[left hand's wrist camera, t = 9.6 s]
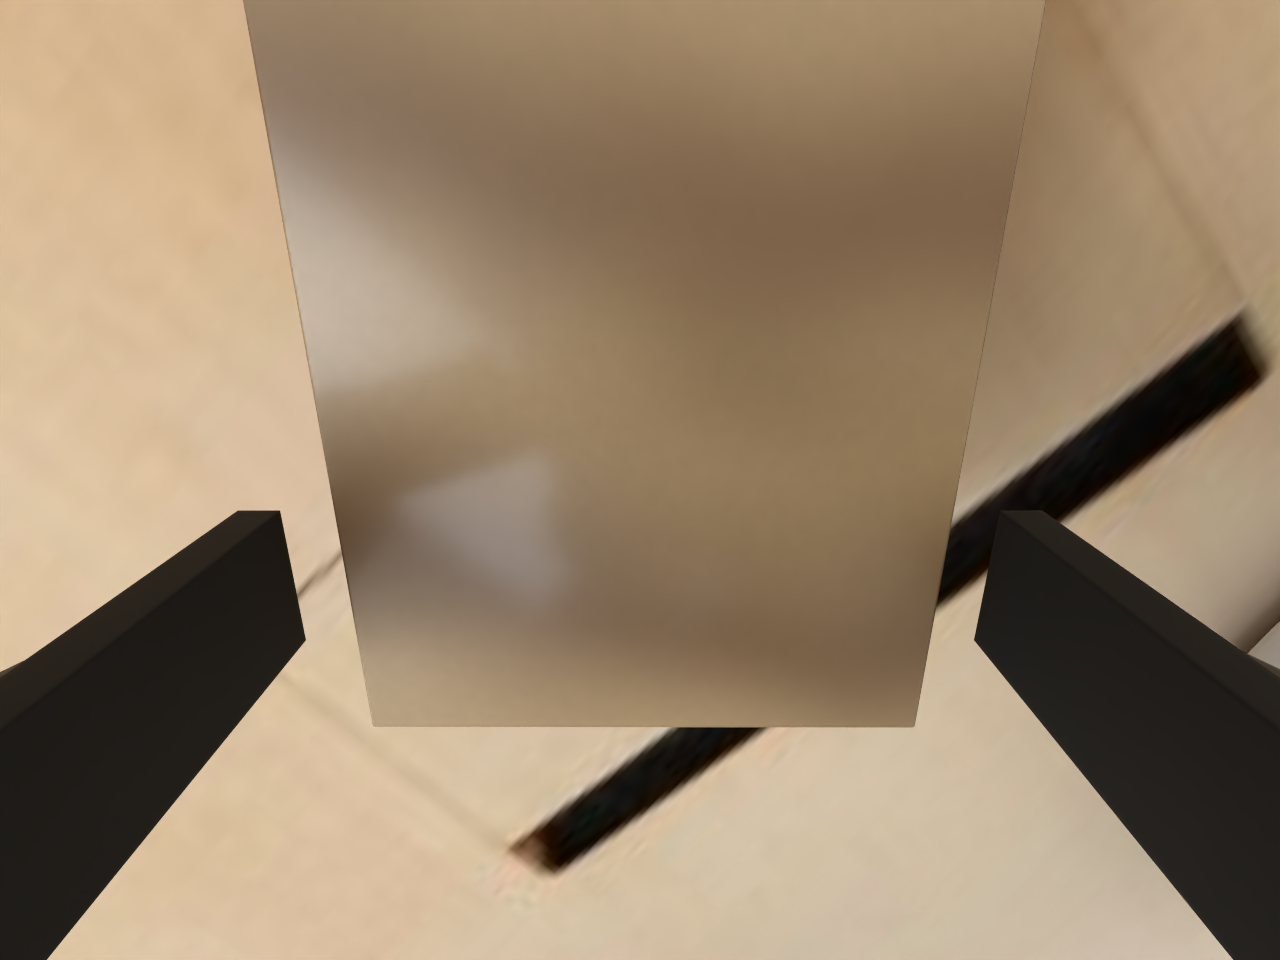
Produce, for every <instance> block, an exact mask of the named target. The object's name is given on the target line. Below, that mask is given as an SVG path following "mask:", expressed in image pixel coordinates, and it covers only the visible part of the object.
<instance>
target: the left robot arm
mask: <svg viewBox="0 0 1280 960" xmlns="http://www.w3.org/2000/svg"><path fill="white" fill-rule="evenodd" d="M305 641H306V638H305V633H304V628H303V623H302V618H301V613H300V608H299V603H298V598H297V593H296V588H295V583H294V578H293V573H292V568H291V563H290V558H289V553H288V548H287V543H286V538H285V533H284V528H283V523H282V518H281V513H280V511H237V512H235V513H234V514H232V515H231V516H230V517H228V518H227V519H225V520H224V521H223V522H221V523H220V524H218V525H217V526H215V527H214V528H213V529H211V530H210V531H208V532H207V533H205V534H204V535H203V536H201V537H200V538H198V539H197V540H196V541H194V542H193V543H191V544H190V545H188V546H187V547H186V548H184V549H183V550H181V551H180V552H178V553H177V554H176V555H174V556H173V557H171V558H170V559H168V560H167V561H166V562H164V563H163V564H161V565H160V566H159V567H157V568H156V569H154V570H153V571H151V572H150V573H149V574H147V575H146V576H144V577H143V578H141V579H140V580H139V581H137V582H136V583H134V584H133V585H131V586H130V587H129V588H127V589H126V590H124V591H123V592H122V593H120V594H119V595H117V596H116V597H114V598H113V599H112V600H110V601H109V602H107V603H106V604H104V605H103V606H102V607H100V608H99V609H97V610H96V611H95V612H93V613H92V614H90V615H89V616H87V617H86V618H85V619H83V620H82V621H80V622H79V623H77V624H76V625H75V626H73V627H72V628H70V629H69V630H67V631H66V632H65V633H63V634H62V635H60V636H59V637H58V638H56V639H55V640H53V641H52V642H50V643H49V644H48V645H46V646H45V647H43V648H42V649H40V650H39V651H38V652H36V653H35V654H33V655H32V656H30V657H29V658H28V659H26V660H25V661H22V662H20V663H18V664H16V665H14V666H12V667H10V668H8V669H6V670H4V671H2V672H0V960H47V959H48V957H49V956H50V955H51V954H52V953H53V951H54V950H55V949H56V948H57V946H58V945H59V944H60V943H61V941H62V940H63V939H64V938H65V936H66V935H67V934H68V933H69V932H70V930H71V929H72V928H73V927H74V925H75V924H76V923H77V922H78V920H79V919H80V918H81V917H82V916H83V914H84V913H85V912H86V911H87V909H88V908H89V907H90V906H91V904H92V903H93V902H94V901H95V899H96V898H97V897H98V896H99V895H100V893H101V892H102V891H103V890H104V888H105V887H106V886H107V885H108V883H109V882H110V881H111V880H112V879H113V877H114V876H115V875H116V874H117V872H118V871H119V870H120V869H121V867H122V866H123V865H124V864H125V862H126V861H127V860H128V859H129V858H130V856H131V855H132V854H133V853H134V851H135V850H136V849H137V848H138V846H139V845H140V844H141V843H142V842H143V840H144V839H145V838H146V837H147V835H148V834H149V833H150V832H151V830H152V829H153V828H154V827H155V825H156V824H157V823H158V822H159V821H160V819H161V818H162V817H163V816H164V814H165V813H166V812H167V811H168V809H169V808H170V807H171V806H172V805H173V803H174V802H175V801H176V800H177V798H178V797H179V796H180V795H181V793H182V792H183V791H184V790H185V788H186V787H187V786H188V785H189V784H190V782H191V781H192V780H193V779H194V777H195V776H196V775H197V774H198V772H199V771H200V770H201V769H202V768H203V766H204V765H205V764H206V763H207V761H208V760H209V759H210V758H211V756H212V755H213V754H214V753H215V751H216V750H217V749H218V748H219V747H220V745H221V744H222V743H223V742H224V740H225V739H226V738H227V737H228V735H229V734H230V733H231V732H232V731H233V729H234V728H235V727H236V726H237V724H238V723H239V722H240V721H241V719H242V718H243V717H244V716H245V715H246V713H247V712H248V711H249V710H250V708H251V707H252V706H253V705H254V703H255V702H256V701H257V700H258V698H259V697H260V696H261V695H262V694H263V692H264V691H265V690H266V689H267V687H268V686H269V685H270V684H271V682H272V681H273V680H274V679H275V678H276V676H277V675H278V674H279V673H280V671H281V670H282V669H283V668H284V666H285V665H286V664H287V663H288V661H289V660H290V659H291V658H292V657H293V655H294V654H295V653H296V652H297V650H298V649H299V648H300V647H301V645H302V644H303V643H304V642H305ZM974 641H975V642H976V643H977V644H978V645H979V647H980V648H981V649H982V650H983V652H984V653H985V654H986V655H987V657H988V658H989V659H990V660H991V661H992V663H993V664H994V665H995V666H996V668H997V669H998V670H999V671H1000V673H1001V674H1002V675H1003V676H1004V678H1005V679H1006V680H1007V681H1008V682H1009V684H1010V685H1011V686H1012V687H1013V689H1014V690H1015V691H1016V692H1017V694H1018V695H1019V696H1020V697H1021V698H1022V700H1023V701H1024V702H1025V703H1026V705H1027V706H1028V707H1029V708H1030V710H1031V711H1032V712H1033V713H1034V715H1035V716H1036V717H1037V718H1038V719H1039V721H1040V722H1041V723H1042V724H1043V726H1044V727H1045V728H1046V729H1047V731H1048V732H1049V733H1050V734H1051V735H1052V737H1053V738H1054V739H1055V740H1056V742H1057V743H1058V744H1059V745H1060V747H1061V748H1062V749H1063V750H1064V751H1065V753H1066V754H1067V755H1068V756H1069V758H1070V759H1071V760H1072V761H1073V763H1074V764H1075V765H1076V766H1077V768H1078V769H1079V770H1080V771H1081V772H1082V774H1083V775H1084V776H1085V777H1086V779H1087V780H1088V781H1089V782H1090V784H1091V785H1092V786H1093V787H1094V788H1095V790H1096V791H1097V792H1098V793H1099V795H1100V796H1101V797H1102V798H1103V800H1104V801H1105V802H1106V803H1107V805H1108V806H1109V807H1110V808H1111V809H1112V811H1113V812H1114V813H1115V814H1116V816H1117V817H1118V818H1119V819H1120V821H1121V822H1122V823H1123V824H1124V825H1125V827H1126V828H1127V829H1128V830H1129V832H1130V833H1131V834H1132V835H1133V837H1134V838H1135V839H1136V840H1137V842H1138V843H1139V844H1140V845H1141V846H1142V848H1143V849H1144V850H1145V851H1146V853H1147V854H1148V855H1149V856H1150V858H1151V859H1152V860H1153V861H1154V862H1155V864H1156V865H1157V866H1158V867H1159V869H1160V870H1161V871H1162V872H1163V874H1164V875H1165V876H1166V877H1167V879H1168V880H1169V881H1170V882H1171V883H1172V885H1173V886H1174V887H1175V888H1176V890H1177V891H1178V892H1179V893H1180V895H1181V896H1182V897H1183V898H1184V899H1185V901H1186V902H1187V903H1188V904H1189V906H1190V907H1191V908H1192V909H1193V911H1194V912H1195V913H1196V914H1197V916H1198V917H1199V918H1200V919H1201V920H1202V922H1203V923H1204V924H1205V925H1206V927H1207V928H1208V929H1209V930H1210V932H1211V933H1212V934H1213V935H1214V936H1215V938H1216V939H1217V940H1218V941H1219V943H1220V944H1221V945H1222V946H1223V948H1224V949H1225V950H1226V951H1227V953H1228V954H1229V955H1230V956H1231V957H1232V959H1233V960H1280V669H1279V668H1277V667H1274V666H1272V665H1270V664H1268V663H1266V662H1264V661H1262V660H1260V659H1258V658H1255V657H1253V656H1251V655H1249V654H1247V653H1245V652H1243V651H1241V650H1240V649H1238V648H1237V647H1235V646H1234V645H1232V644H1231V643H1230V642H1228V641H1227V640H1225V639H1224V638H1222V637H1221V636H1220V635H1218V634H1217V633H1215V632H1214V631H1213V630H1211V629H1210V628H1208V627H1207V626H1205V625H1204V624H1203V623H1201V622H1200V621H1198V620H1197V619H1195V618H1194V617H1193V616H1191V615H1190V614H1188V613H1187V612H1185V611H1184V610H1183V609H1181V608H1180V607H1178V606H1177V605H1176V604H1174V603H1173V602H1171V601H1170V600H1168V599H1167V598H1166V597H1164V596H1163V595H1161V594H1160V593H1158V592H1157V591H1156V590H1154V589H1153V588H1151V587H1150V586H1149V585H1147V584H1146V583H1144V582H1143V581H1141V580H1140V579H1139V578H1137V577H1136V576H1134V575H1133V574H1131V573H1130V572H1129V571H1127V570H1126V569H1124V568H1123V567H1121V566H1120V565H1119V564H1117V563H1116V562H1114V561H1113V560H1112V559H1110V558H1109V557H1107V556H1106V555H1104V554H1103V553H1102V552H1100V551H1099V550H1097V549H1096V548H1094V547H1093V546H1092V545H1090V544H1089V543H1087V542H1086V541H1084V540H1083V539H1082V538H1080V537H1079V536H1077V535H1076V534H1075V533H1073V532H1072V531H1070V530H1069V529H1067V528H1066V527H1065V526H1063V525H1062V524H1060V523H1059V522H1057V521H1056V520H1055V519H1053V518H1052V517H1050V516H1049V515H1048V514H1046V513H1045V512H1043V511H1000V513H999V518H998V523H997V528H996V533H995V538H994V543H993V548H992V553H991V558H990V563H989V568H988V573H987V578H986V583H985V588H984V593H983V598H982V603H981V608H980V613H979V618H978V623H977V628H976V633H975V638H974Z"/></svg>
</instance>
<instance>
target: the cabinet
mask: <svg viewBox="0 0 1280 960" xmlns="http://www.w3.org/2000/svg"><path fill="white" fill-rule="evenodd" d="M243 2H244V7H245V13H246V19H247V24H248V30H249V35H250V41H251V47H252V52H253V58H254V63H255V69H256V75H257V80H258V86H259V91H260V97H261V103H262V108H263V114H264V119H265V125H266V131H267V136H268V142H269V147H270V153H271V158H272V164H273V170H274V175H275V181H276V186H277V192H278V198H279V203H280V209H281V214H282V220H283V226H284V231H285V237H286V242H287V248H288V254H289V259H290V265H291V270H292V276H293V282H294V287H295V293H296V298H297V304H298V310H299V315H300V321H301V326H302V332H303V337H304V343H305V349H306V354H307V360H308V365H309V371H310V377H311V382H312V388H313V393H314V399H315V405H316V410H317V416H318V421H319V427H320V433H321V438H322V444H323V449H324V455H325V461H326V466H327V472H328V477H329V483H330V489H331V494H332V500H333V505H334V511H335V516H336V522H337V528H338V533H339V539H340V544H341V550H342V556H343V561H344V567H345V572H346V578H347V584H348V589H349V595H350V600H351V606H352V612H353V617H354V623H355V628H356V634H357V640H358V645H359V651H360V656H361V662H362V667H363V673H364V679H365V684H366V690H367V695H368V701H369V707H370V712H371V718H372V723H373V726H375V727H914V726H915V721H916V715H917V710H918V704H919V699H920V693H921V687H922V682H923V676H924V671H925V665H926V660H927V654H928V649H929V643H930V638H931V632H932V627H933V621H934V616H935V610H936V605H937V599H938V594H939V588H940V583H941V577H942V571H943V566H944V560H945V555H946V549H947V544H948V538H949V533H950V527H951V522H952V516H953V511H954V505H955V500H956V494H957V489H958V483H959V478H960V472H961V467H962V461H963V455H964V450H965V444H966V439H967V433H968V428H969V422H970V417H971V411H972V406H973V400H974V395H975V389H976V384H977V378H978V373H979V367H980V362H981V356H982V351H983V345H984V339H985V334H986V328H987V323H988V317H989V312H990V306H991V301H992V295H993V290H994V284H995V279H996V273H997V268H998V262H999V257H1000V251H1001V246H1002V240H1003V235H1004V229H1005V223H1006V218H1007V212H1008V207H1009V201H1010V196H1011V190H1012V185H1013V179H1014V174H1015V168H1016V163H1017V157H1018V152H1019V146H1020V141H1021V135H1022V130H1023V124H1024V119H1025V113H1026V107H1027V102H1028V96H1029V91H1030V85H1031V80H1032V74H1033V69H1034V63H1035V58H1036V52H1037V47H1038V41H1039V36H1040V30H1041V25H1042V19H1043V14H1044V8H1045V3H1046V0H243Z"/></svg>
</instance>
